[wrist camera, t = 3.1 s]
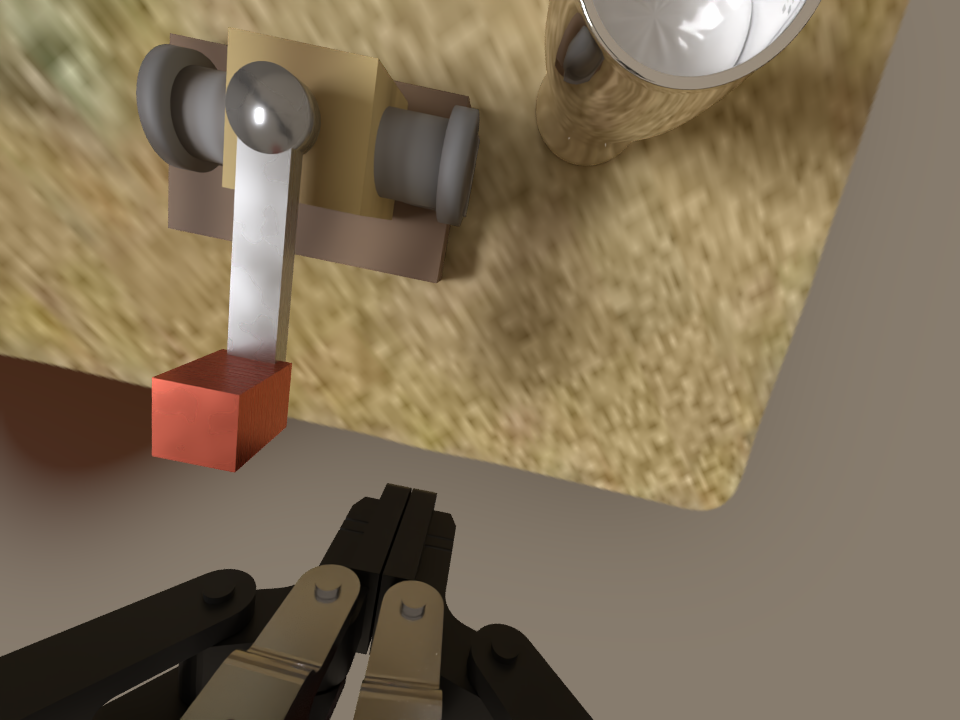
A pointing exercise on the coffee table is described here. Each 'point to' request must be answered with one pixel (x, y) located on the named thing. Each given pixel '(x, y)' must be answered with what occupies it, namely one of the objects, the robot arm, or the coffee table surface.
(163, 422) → the valve lever
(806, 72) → the coffee table surface
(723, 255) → the coffee table surface
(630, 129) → the beer glass
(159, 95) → the valve pipe
